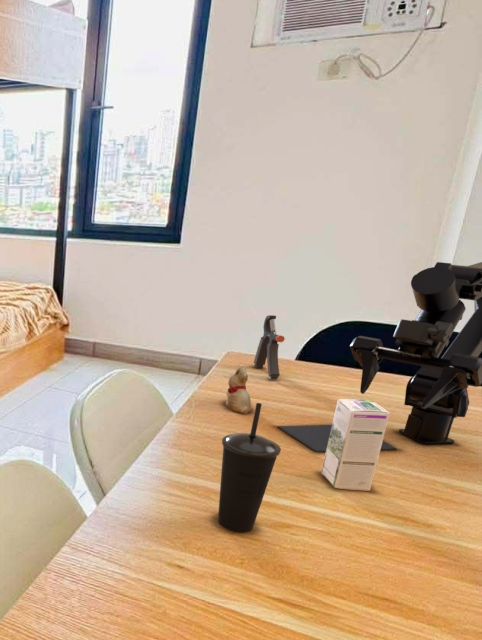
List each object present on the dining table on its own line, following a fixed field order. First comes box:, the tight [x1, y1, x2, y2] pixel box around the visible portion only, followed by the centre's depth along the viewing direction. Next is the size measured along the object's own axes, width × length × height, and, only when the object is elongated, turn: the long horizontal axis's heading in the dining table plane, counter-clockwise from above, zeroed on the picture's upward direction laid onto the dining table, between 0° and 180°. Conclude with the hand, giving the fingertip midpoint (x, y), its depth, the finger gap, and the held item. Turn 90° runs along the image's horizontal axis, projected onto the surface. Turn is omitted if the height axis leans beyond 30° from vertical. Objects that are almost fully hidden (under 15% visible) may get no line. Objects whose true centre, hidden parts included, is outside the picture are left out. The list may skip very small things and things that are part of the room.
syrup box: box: [320, 398, 390, 492], centre depth 107 cm, size 6×6×14 cm
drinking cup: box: [217, 402, 282, 533], centre depth 94 cm, size 8×8×20 cm
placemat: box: [277, 424, 397, 453], centre depth 126 cm, size 16×12×1 cm
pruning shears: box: [253, 314, 285, 380], centre depth 162 cm, size 2×12×15 cm, turn 171°
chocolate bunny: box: [225, 365, 252, 415], centre depth 141 cm, size 6×8×10 cm
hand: (391, 399), depth 110 cm, fingers open, 9 cm apart
